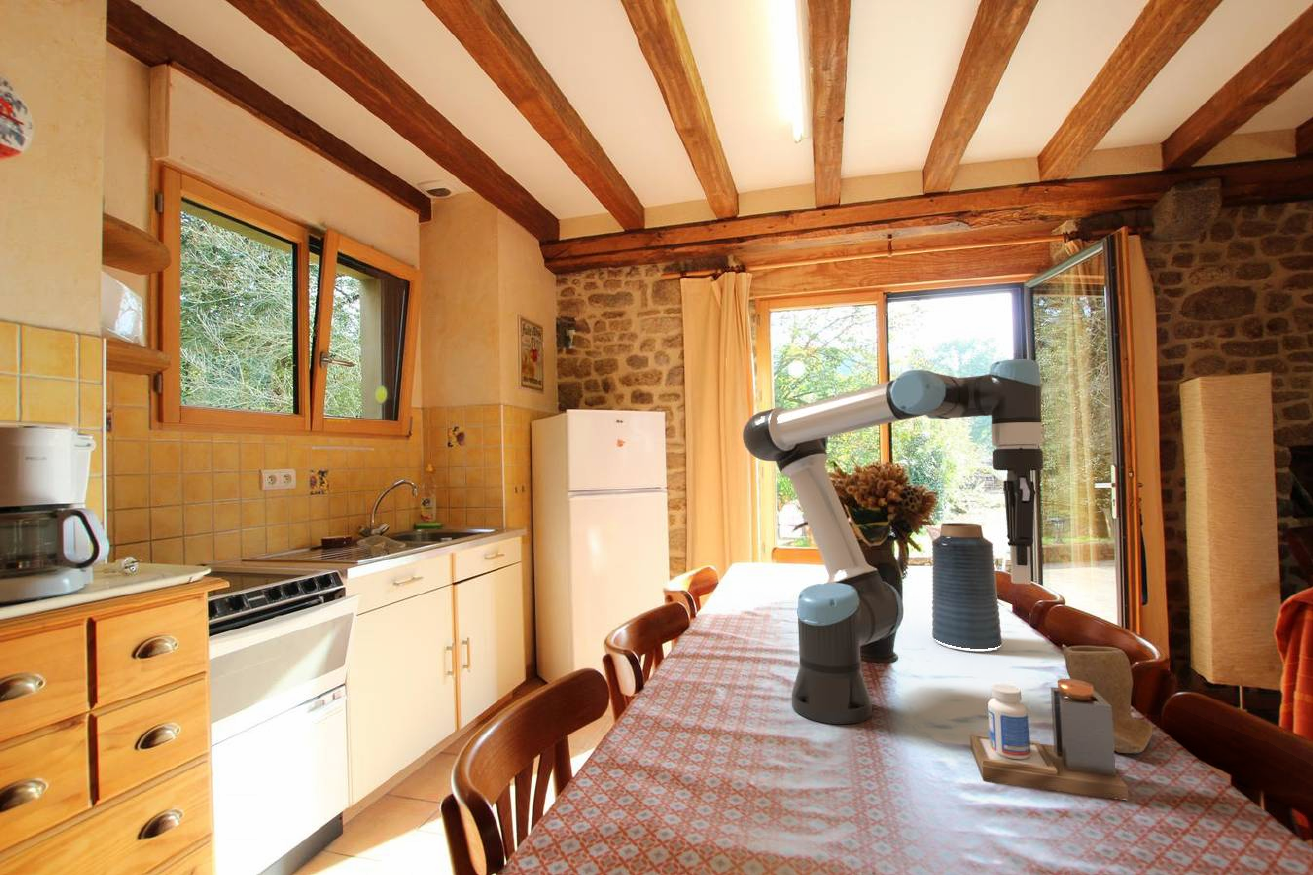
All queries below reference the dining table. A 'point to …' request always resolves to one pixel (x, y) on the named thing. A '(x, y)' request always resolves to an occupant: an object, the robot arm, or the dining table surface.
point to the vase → (964, 588)
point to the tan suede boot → (1111, 691)
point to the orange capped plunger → (1075, 689)
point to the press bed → (1042, 771)
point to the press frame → (1083, 734)
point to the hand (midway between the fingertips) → (1020, 583)
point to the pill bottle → (1008, 722)
